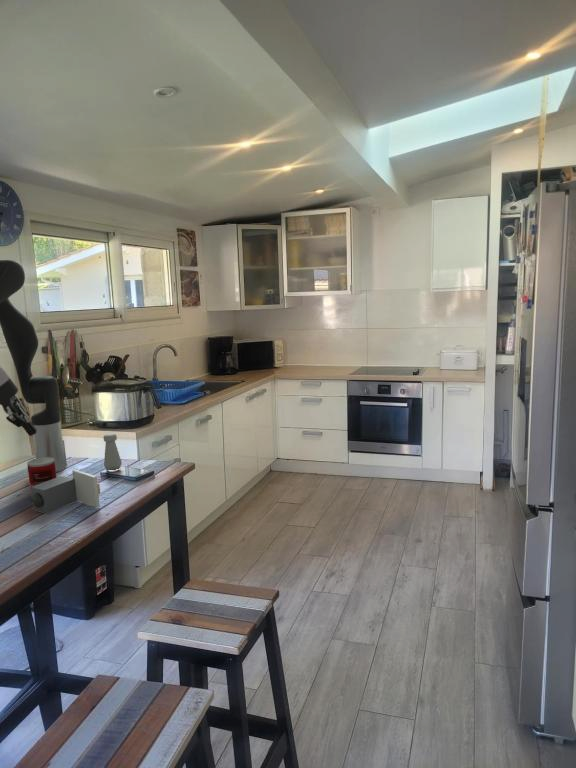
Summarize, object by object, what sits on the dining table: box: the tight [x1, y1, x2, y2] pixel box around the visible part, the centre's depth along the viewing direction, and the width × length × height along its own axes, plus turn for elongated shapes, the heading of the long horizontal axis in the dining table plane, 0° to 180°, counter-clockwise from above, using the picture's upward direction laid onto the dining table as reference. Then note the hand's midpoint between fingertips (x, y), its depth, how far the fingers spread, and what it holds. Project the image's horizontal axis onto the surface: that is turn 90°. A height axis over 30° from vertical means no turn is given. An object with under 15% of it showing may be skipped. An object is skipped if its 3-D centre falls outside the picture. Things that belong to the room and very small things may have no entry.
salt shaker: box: [103, 432, 122, 471], centre depth 192 cm, size 6×6×13 cm
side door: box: [74, 469, 101, 509], centre depth 162 cm, size 10×2×9 cm, turn 51°
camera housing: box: [30, 469, 78, 515], centre depth 162 cm, size 12×6×9 cm, turn 149°
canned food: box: [27, 457, 57, 496], centre depth 171 cm, size 8×8×11 cm
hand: (33, 433), depth 157 cm, fingers closed
